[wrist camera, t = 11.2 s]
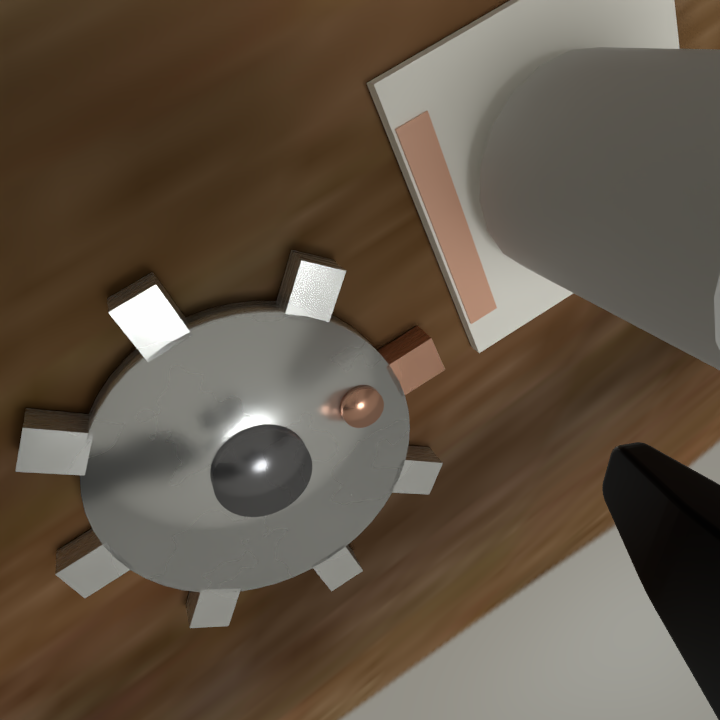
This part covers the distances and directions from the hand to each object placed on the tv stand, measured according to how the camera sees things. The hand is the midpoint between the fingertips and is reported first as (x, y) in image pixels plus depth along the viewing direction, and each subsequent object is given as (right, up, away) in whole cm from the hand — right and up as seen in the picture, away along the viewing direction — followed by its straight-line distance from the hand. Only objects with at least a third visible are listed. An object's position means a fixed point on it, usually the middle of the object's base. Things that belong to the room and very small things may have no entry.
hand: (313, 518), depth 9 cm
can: (+8, +9, +14) cm, 18 cm away
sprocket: (-3, -1, +15) cm, 16 cm away
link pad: (+8, +10, +14) cm, 19 cm away
